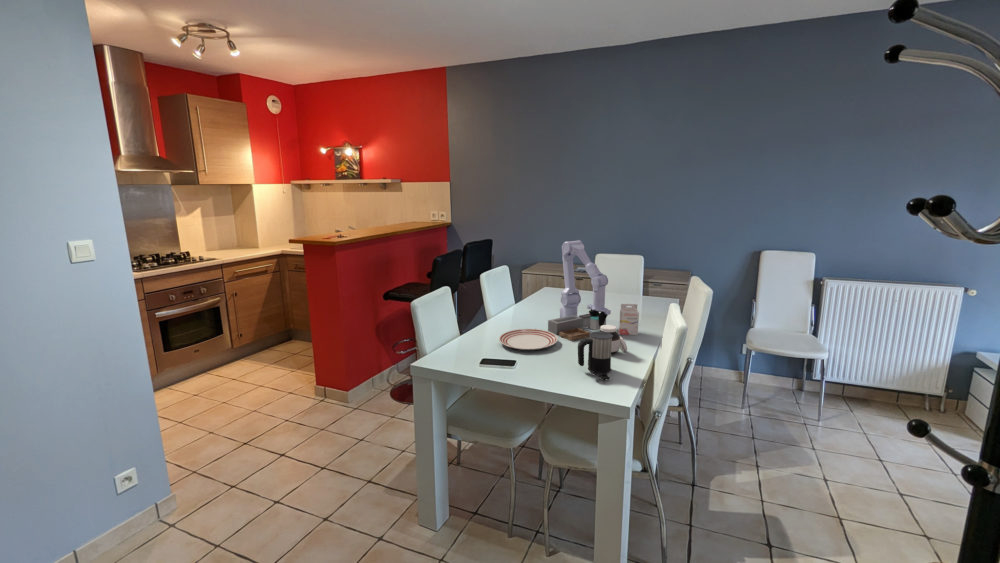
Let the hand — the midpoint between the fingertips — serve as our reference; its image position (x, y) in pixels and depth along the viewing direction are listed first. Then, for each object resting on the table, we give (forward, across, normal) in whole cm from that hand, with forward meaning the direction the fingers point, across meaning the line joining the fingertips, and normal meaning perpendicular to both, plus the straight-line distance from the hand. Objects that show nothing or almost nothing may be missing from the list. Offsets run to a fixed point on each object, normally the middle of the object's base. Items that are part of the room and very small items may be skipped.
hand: (598, 325), depth 238 cm
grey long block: (+3, -10, -12) cm, 17 cm away
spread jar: (+3, +25, -16) cm, 30 cm away
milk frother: (+3, +40, -38) cm, 56 cm away
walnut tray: (+3, -1, -15) cm, 15 cm away
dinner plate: (+4, -5, -40) cm, 40 cm away
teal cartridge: (+2, 0, 0) cm, 2 cm away
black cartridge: (+3, -10, +2) cm, 11 cm away
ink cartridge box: (+3, +11, +10) cm, 15 cm away
